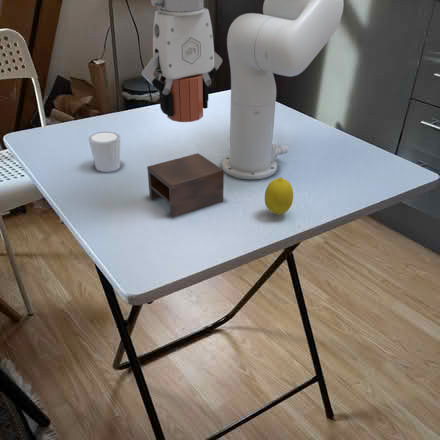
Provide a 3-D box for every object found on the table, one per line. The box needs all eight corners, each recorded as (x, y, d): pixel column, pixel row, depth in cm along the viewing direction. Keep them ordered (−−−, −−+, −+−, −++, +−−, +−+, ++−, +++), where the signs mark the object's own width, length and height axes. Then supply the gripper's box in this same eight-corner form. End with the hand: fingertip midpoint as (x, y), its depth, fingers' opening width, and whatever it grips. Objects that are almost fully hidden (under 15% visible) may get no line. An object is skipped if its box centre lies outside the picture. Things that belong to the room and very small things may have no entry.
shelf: (198, 183, 113) (198, 152, 109) (223, 201, 107) (223, 170, 103) (149, 197, 108) (147, 166, 103) (172, 217, 102) (171, 185, 97)
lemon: (271, 224, 100) (274, 186, 95) (258, 211, 104) (261, 174, 99) (296, 218, 102) (300, 181, 97) (282, 205, 106) (286, 169, 101)
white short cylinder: (117, 174, 116) (113, 144, 112) (88, 171, 117) (83, 141, 112) (127, 161, 121) (124, 132, 117) (99, 158, 122) (95, 129, 118)
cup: (191, 106, 100) (189, 65, 95) (209, 117, 96) (209, 75, 91) (161, 113, 97) (158, 71, 93) (178, 124, 93) (176, 81, 88)
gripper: (144, 11, 79) (153, 126, 90) (237, -1, 86) (235, 107, 97) (122, 2, 83) (133, 113, 95) (212, -8, 91) (212, 95, 102)
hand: (185, 109), depth 96 cm, fingers closed on cup, 6 cm apart
